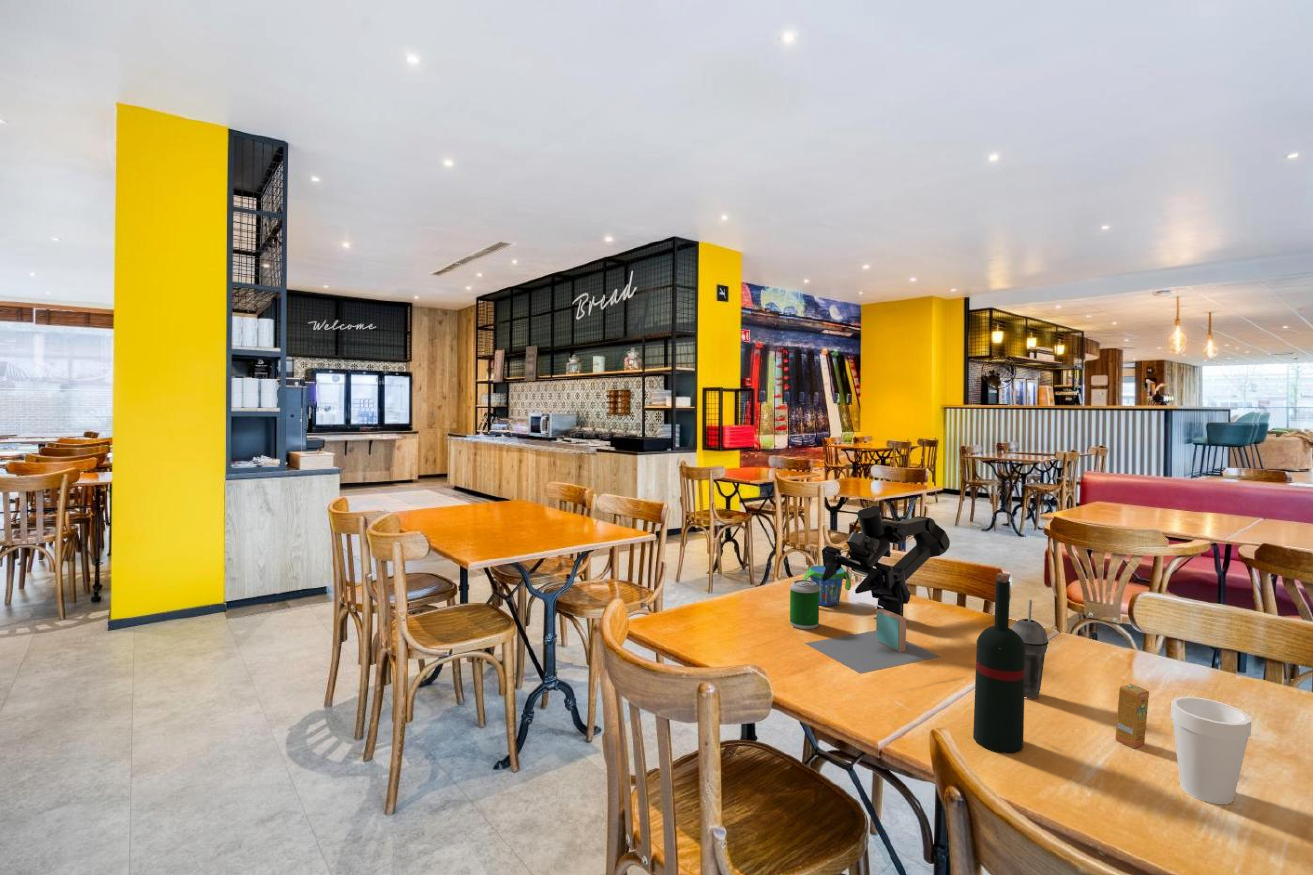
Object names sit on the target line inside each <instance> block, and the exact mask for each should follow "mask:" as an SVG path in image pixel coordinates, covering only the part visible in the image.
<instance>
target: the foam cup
mask: <svg viewBox="0 0 1313 875" xmlns="http://www.w3.org/2000/svg"><path fill="white" fill-rule="evenodd" d="M1170 705H1171V706H1170V718H1171V720H1172V723H1173V730H1174V731H1173V732H1174V741H1175V742H1174V743H1175V749H1176V750H1175V752H1176V758H1177V767H1178V776H1179V778H1178V779H1179V783H1180V788H1182V791H1184V792H1185V793H1186V794H1188V795H1189V794H1190V795H1189V796H1191V795H1192V796H1191V797H1193V798H1195V799H1196V800H1200V801H1202V800H1203V802H1205V801H1206V802H1205V803H1209V804H1213V805H1219V804H1225V805H1230V804H1232V803H1233V802H1234V798H1235V796H1236V792H1237V787H1238V784H1239V779H1240V774H1241V770H1242V766H1243V762H1244V759H1245V753H1246V749H1247V746H1248V740H1249V738H1251V736H1252V735H1251V734H1252V733H1251V732H1252V719H1251V717H1250V715H1249V714H1248V713H1246V712H1244V711H1243V710H1242V709H1240V708H1237V707H1235V706H1232V705H1229V704H1227V703H1225V702H1221V701H1217V700H1213V699H1209V698H1203V697H1196V696H1177V697H1174V698H1173V699H1171V703H1170ZM1232 801H1233V802H1232ZM1231 802H1232V803H1231ZM1229 803H1230V804H1229Z"/></svg>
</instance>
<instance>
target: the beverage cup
mask: <svg viewBox="0 0 1313 875" xmlns="http://www.w3.org/2000/svg"><path fill="white" fill-rule="evenodd" d="M1032 603H1033V600H1032V599H1029V600H1028V611H1027V612H1028V614H1027V618H1022V619H1018V620H1017V621H1015V622H1014V623H1013V624H1012V625H1011V626H1010V627H1009V628H1010V629H1012V630H1013V631H1015V632H1016V633H1017V634H1018V635H1019V636H1020V637H1021V638H1022V640H1023V641H1024V644H1025V646H1026V651H1025V692H1024V697H1027V698H1037V697H1039V698H1040V691H1041V686H1042V679H1043V672H1044V665H1045V664H1044V663H1045V656H1046V653H1047V649H1048V645H1049V644H1050V643H1049V640H1048V633H1047V632H1046V629H1045V628H1044V626H1043V625H1041V623H1039V622H1038V621H1037V620H1034V619H1032V609H1033V608H1032V607H1033V604H1032ZM1037 699H1038V698H1037Z"/></svg>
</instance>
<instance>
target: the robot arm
mask: <svg viewBox="0 0 1313 875" xmlns="http://www.w3.org/2000/svg"><path fill="white" fill-rule="evenodd" d="M856 515H857V519H858V522H859V526H860V530H861V533H858V532H855V531H852V532H850V533H851V534H850V535H849V537H848V538H847V540H846V541H845V542H846V544H847V546H848V548H849V549H848V550H847V555H848V556H849V557H848V556H846V555H842V552H841V550H840V549H838V548H837V547H833V546H830V545H826V546H824V547H823V548H822V549H821V556H822V563H823V564H822V565H823V566H824V567H825V571H824V574H823V577H822V581H826V580H828V579H829V578H831V577H832V576H833V575H835V574H836V573H837V571H838V570H839V569H840V568H842V566H845V567H847V568H850V569H851V571H852V572H856V573H858V574H861V575H864V576H866V577H865V578H864V579H863V580H862V581H861V582H860V583H859V584H858V585H857V586H856V588H855V590H854V593H855V594H856V595H857V594H861V593H866V592H869V591H870V593H871V598H873V599H877V605H876V610H877V609H885V610H888V611H890V612H893V613H895V614H898V615H900V616H903V617H904V605H908V604H909V602H910V600H911V592H910V591H909V589H908V587H907V584H906V581H907V580H908V579H909V578H911V576H913V574H915V573H916V571H918V570H919V569H920V568H921V567H922V566H923V564H925V563H926V562H927V561H928V560H929V559H931V558H935V557H940V556H942V555H943V554H945V553H947V551H948V550H949V548H950V546H951V545H950V544H951V540H950V538H949V536H948V534H947V533H946V530H944V529H943V528H942V527H940V526H939V525H938V524H937V523H936V521H935V519H934V518H932V517H929V516H928V517H926V516H921V515H917V516H914V517H912V518H906V519H903V520H898V521H895V520H893V521H891V520H887V519H886V520H884V519H883V518H882V514H881V508H880V506H879V505H871V506H870V507H865V508H863V509H860V510H858V511H857V513H856ZM909 536H913V538H914V541H915V545H914V546H913V548H911V549H910V550H909V551H908V552H907V553H906V554H905V555H904V556H903V557H902V558H900V560H898V561H897V562H896V563H895V564H894V565H887V564H884V563H882V562H879V561H880V560H881V558H882V557H885V558H890V557H891V556H892V555H891V544H893V545H894V544H895V545H900V544H902V543H904V542H905V541H906V540H907V537H909ZM876 618H877V616H875V617H873V619H874V620H876ZM906 623H908V621H907V620H906Z"/></svg>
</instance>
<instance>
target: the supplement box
mask: <svg viewBox="0 0 1313 875" xmlns="http://www.w3.org/2000/svg"><path fill="white" fill-rule="evenodd" d="M1118 691H1119V692H1118V701H1117V711H1116V712H1117V713H1116V714H1117V715H1116V727H1115V740H1116V741H1117V742H1118V743H1121V744H1122V745H1124V746H1127V747H1129V748H1131V749H1136V748H1140V747H1142V746H1145V742H1146V741H1145V740H1146V728H1147V722H1148V721H1147V718H1148V710H1149V709H1148V708H1149V699H1150V691H1149V690H1147V689H1146V688H1144V687H1141V686H1138V685H1136V684H1133V683H1129V684H1128V685H1121V686H1119V690H1118Z"/></svg>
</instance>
